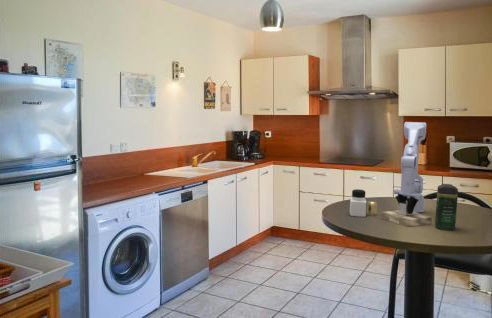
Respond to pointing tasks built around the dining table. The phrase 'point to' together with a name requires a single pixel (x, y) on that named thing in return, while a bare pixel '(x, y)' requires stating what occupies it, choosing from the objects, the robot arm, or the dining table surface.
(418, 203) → the robot arm
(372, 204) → the brass round peg
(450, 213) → the coffee jar
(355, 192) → the medicine bottle
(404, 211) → the steel square peg
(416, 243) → the dining table surface
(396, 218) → the bore block
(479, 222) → the dining table surface
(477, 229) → the dining table surface
